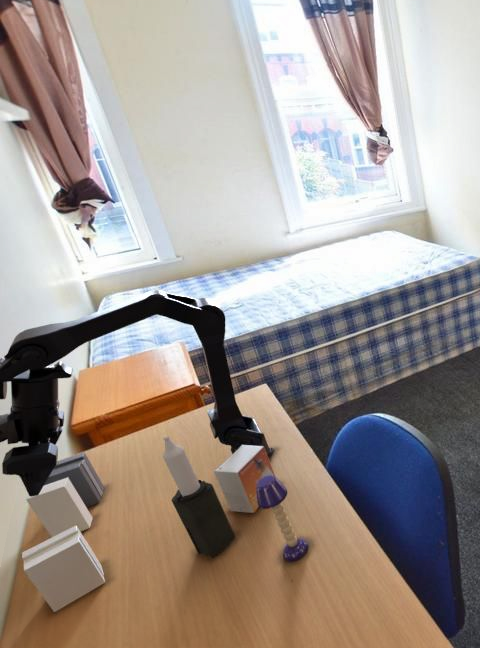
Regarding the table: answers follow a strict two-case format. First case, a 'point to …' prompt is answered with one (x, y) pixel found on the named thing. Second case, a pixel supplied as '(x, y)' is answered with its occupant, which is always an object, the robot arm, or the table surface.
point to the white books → (63, 568)
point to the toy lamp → (280, 515)
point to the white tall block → (60, 508)
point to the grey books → (79, 478)
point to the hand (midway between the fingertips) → (37, 481)
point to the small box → (243, 477)
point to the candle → (197, 504)
